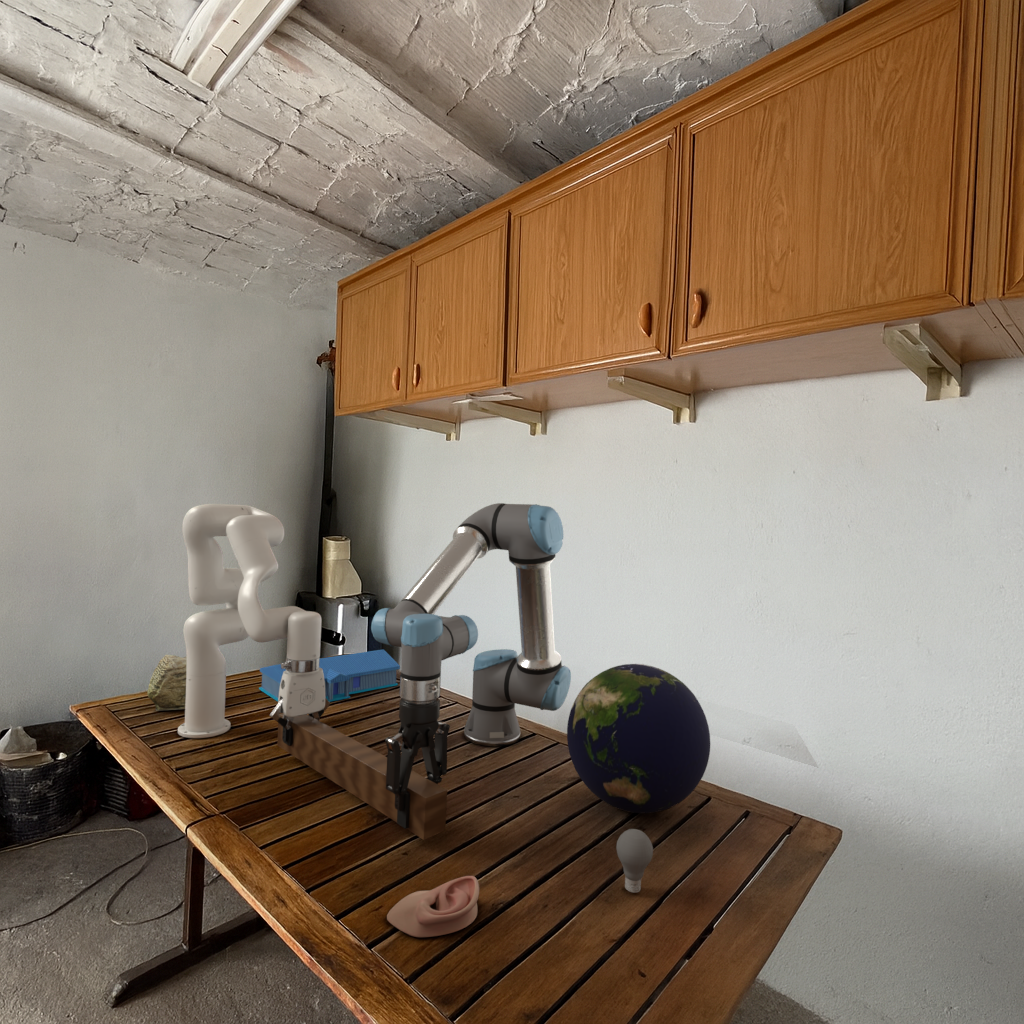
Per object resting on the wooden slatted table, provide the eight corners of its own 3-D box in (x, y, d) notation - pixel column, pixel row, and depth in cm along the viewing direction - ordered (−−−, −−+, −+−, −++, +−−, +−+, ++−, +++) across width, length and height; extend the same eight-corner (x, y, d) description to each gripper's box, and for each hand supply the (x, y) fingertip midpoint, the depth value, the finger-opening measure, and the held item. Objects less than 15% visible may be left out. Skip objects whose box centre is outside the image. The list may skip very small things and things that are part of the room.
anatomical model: (379, 903, 93) (407, 860, 104) (378, 930, 93) (406, 884, 105) (466, 919, 91) (485, 873, 102) (464, 947, 91) (484, 898, 102)
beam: (277, 745, 152) (278, 714, 152) (297, 740, 156) (298, 709, 155) (423, 840, 114) (425, 798, 113) (445, 830, 117) (447, 789, 117)
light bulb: (610, 879, 108) (613, 822, 108) (644, 879, 109) (647, 822, 109) (619, 902, 102) (622, 840, 102) (655, 901, 103) (658, 840, 103)
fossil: (144, 707, 182) (145, 655, 182) (212, 696, 194) (213, 647, 194) (151, 716, 175) (153, 662, 175) (221, 703, 188) (223, 653, 188)
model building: (289, 709, 186) (291, 675, 185) (258, 688, 204) (259, 657, 204) (403, 687, 212) (405, 657, 212) (366, 670, 230) (368, 643, 230)
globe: (544, 820, 127) (551, 672, 127) (585, 765, 155) (590, 643, 155) (698, 858, 116) (706, 696, 116) (712, 791, 144) (719, 660, 143)
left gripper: (275, 674, 141) (272, 755, 141) (343, 662, 153) (339, 736, 153) (260, 666, 146) (257, 744, 146) (327, 655, 158) (323, 728, 159)
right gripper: (391, 714, 109) (387, 846, 110) (469, 693, 123) (465, 810, 123) (366, 703, 115) (362, 829, 115) (444, 683, 128) (440, 797, 129)
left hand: (299, 740), depth 150 cm, fingers closed on beam, 5 cm apart
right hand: (415, 819), depth 119 cm, fingers closed on beam, 5 cm apart
